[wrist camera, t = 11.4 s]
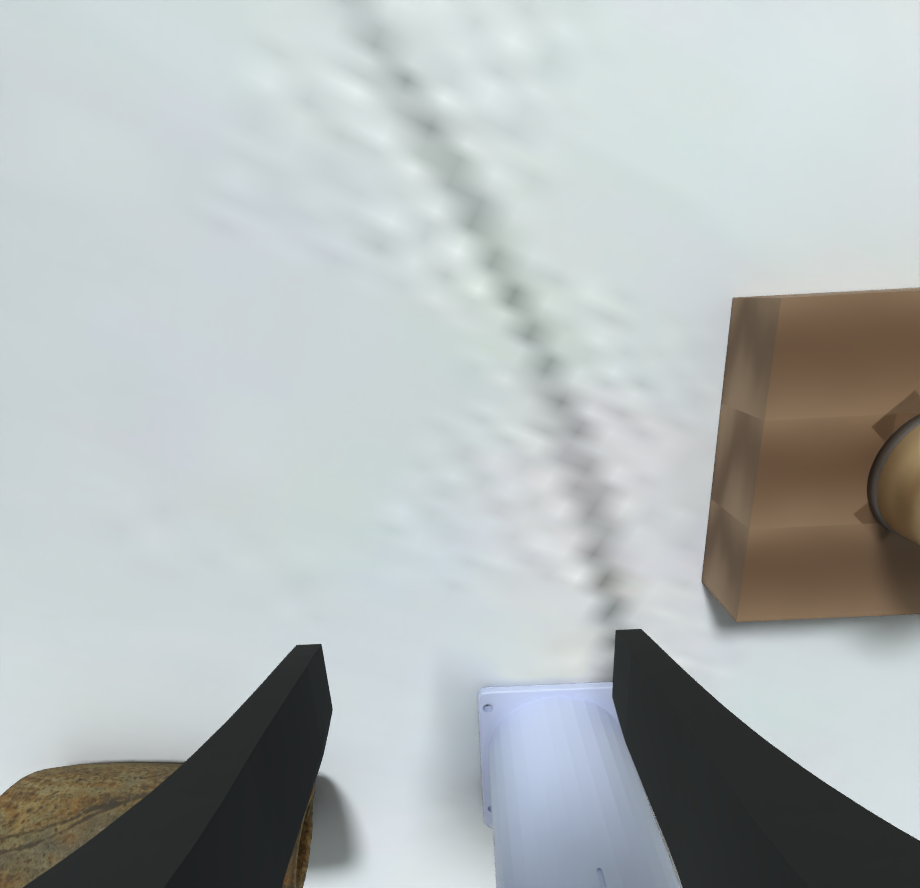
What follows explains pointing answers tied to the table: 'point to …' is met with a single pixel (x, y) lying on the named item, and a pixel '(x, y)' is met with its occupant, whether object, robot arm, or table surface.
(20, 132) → the table surface
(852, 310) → the board
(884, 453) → the peg
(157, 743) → the table surface
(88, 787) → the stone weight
